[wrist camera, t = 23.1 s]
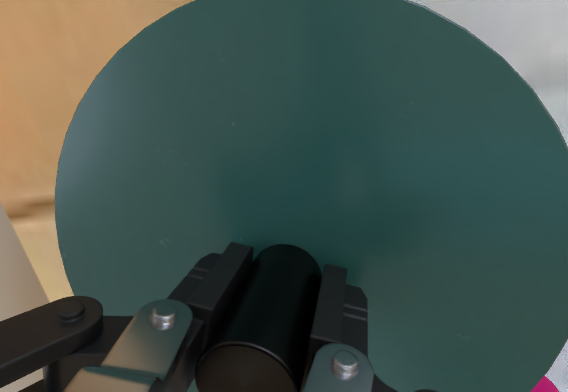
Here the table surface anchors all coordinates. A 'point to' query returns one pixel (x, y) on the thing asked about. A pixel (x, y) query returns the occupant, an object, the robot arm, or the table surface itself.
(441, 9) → the table surface
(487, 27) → the table surface
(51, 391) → the robot arm
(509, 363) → the pot lid
